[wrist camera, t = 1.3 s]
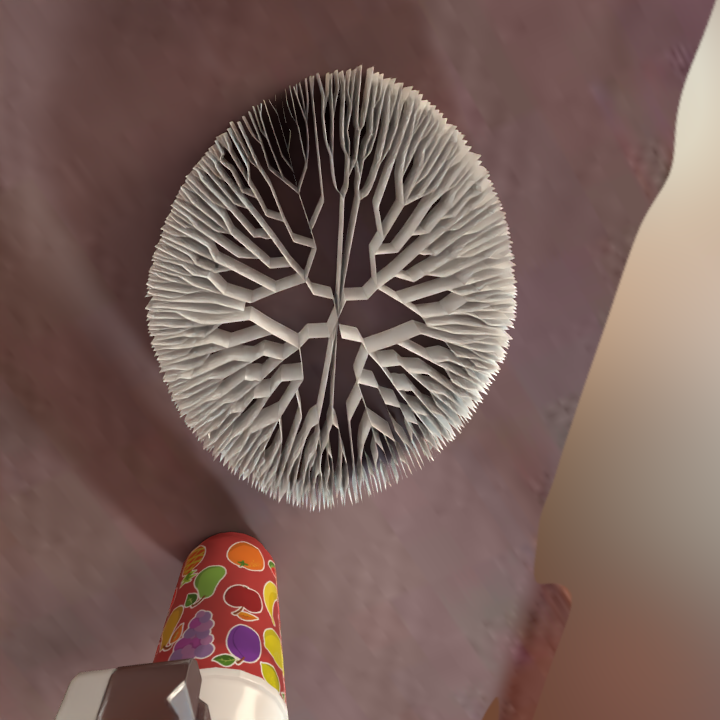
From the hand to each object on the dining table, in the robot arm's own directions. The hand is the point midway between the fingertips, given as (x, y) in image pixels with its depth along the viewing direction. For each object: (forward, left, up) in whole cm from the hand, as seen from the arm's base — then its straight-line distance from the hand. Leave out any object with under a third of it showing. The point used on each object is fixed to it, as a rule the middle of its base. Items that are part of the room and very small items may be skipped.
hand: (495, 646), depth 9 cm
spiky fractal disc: (+4, -2, -33) cm, 33 cm away
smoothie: (+17, -19, -33) cm, 42 cm away
